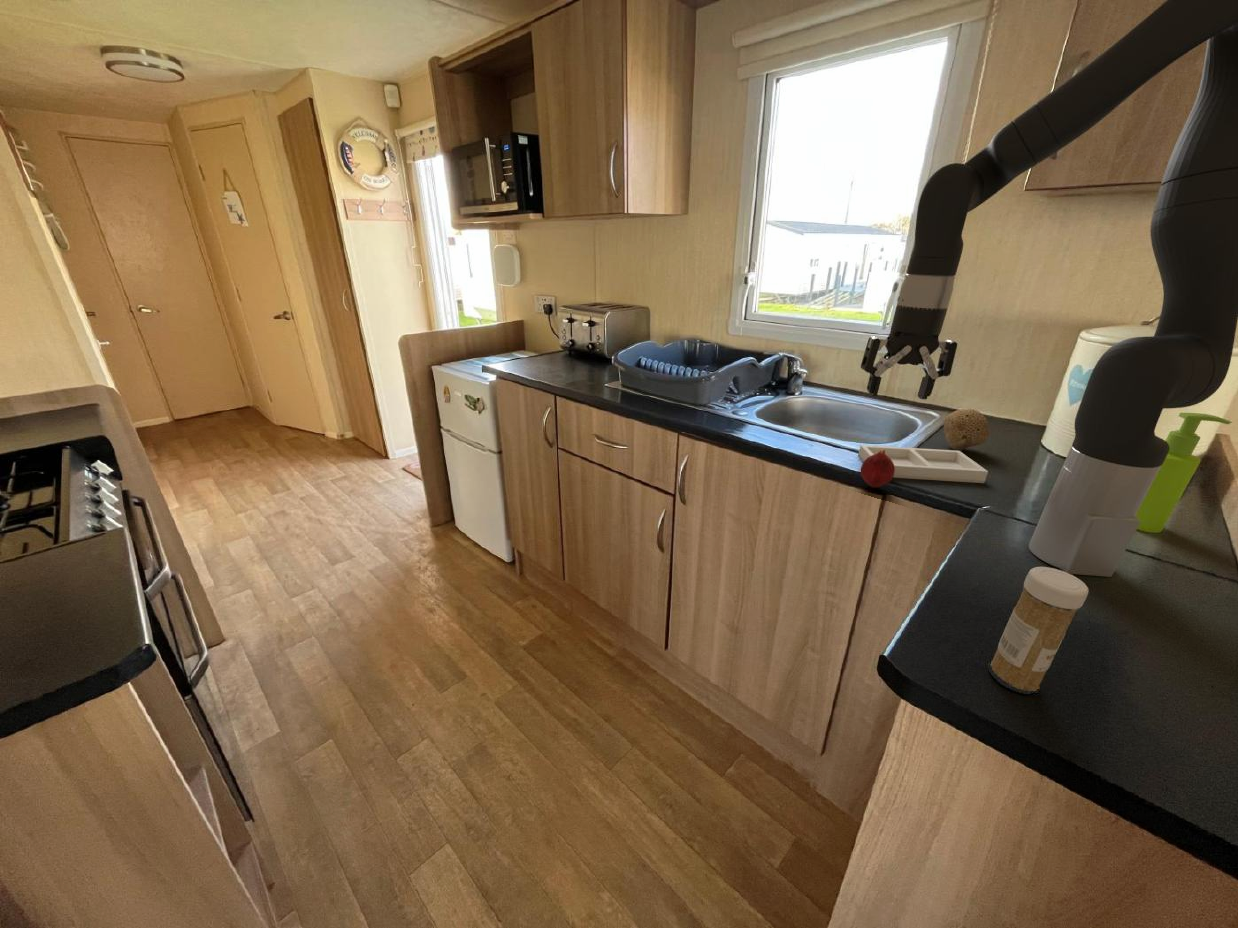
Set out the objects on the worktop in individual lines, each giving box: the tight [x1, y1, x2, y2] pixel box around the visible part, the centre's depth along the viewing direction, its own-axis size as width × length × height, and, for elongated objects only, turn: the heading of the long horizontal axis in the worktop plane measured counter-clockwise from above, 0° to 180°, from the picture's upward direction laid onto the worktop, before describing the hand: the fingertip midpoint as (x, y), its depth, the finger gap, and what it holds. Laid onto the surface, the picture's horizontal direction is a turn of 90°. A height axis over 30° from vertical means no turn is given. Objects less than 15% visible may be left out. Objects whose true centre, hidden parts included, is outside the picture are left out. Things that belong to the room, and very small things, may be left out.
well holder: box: [857, 444, 989, 484], centre depth 104 cm, size 11×21×3 cm, turn 84°
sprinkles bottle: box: [989, 566, 1089, 692], centre depth 50 cm, size 5×5×13 cm
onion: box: [860, 449, 895, 489], centre depth 94 cm, size 6×6×8 cm
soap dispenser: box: [1135, 412, 1233, 534], centre depth 80 cm, size 6×7×20 cm
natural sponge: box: [943, 408, 991, 451], centre depth 112 cm, size 9×9×10 cm
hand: (897, 396), depth 88 cm, fingers open, 8 cm apart
